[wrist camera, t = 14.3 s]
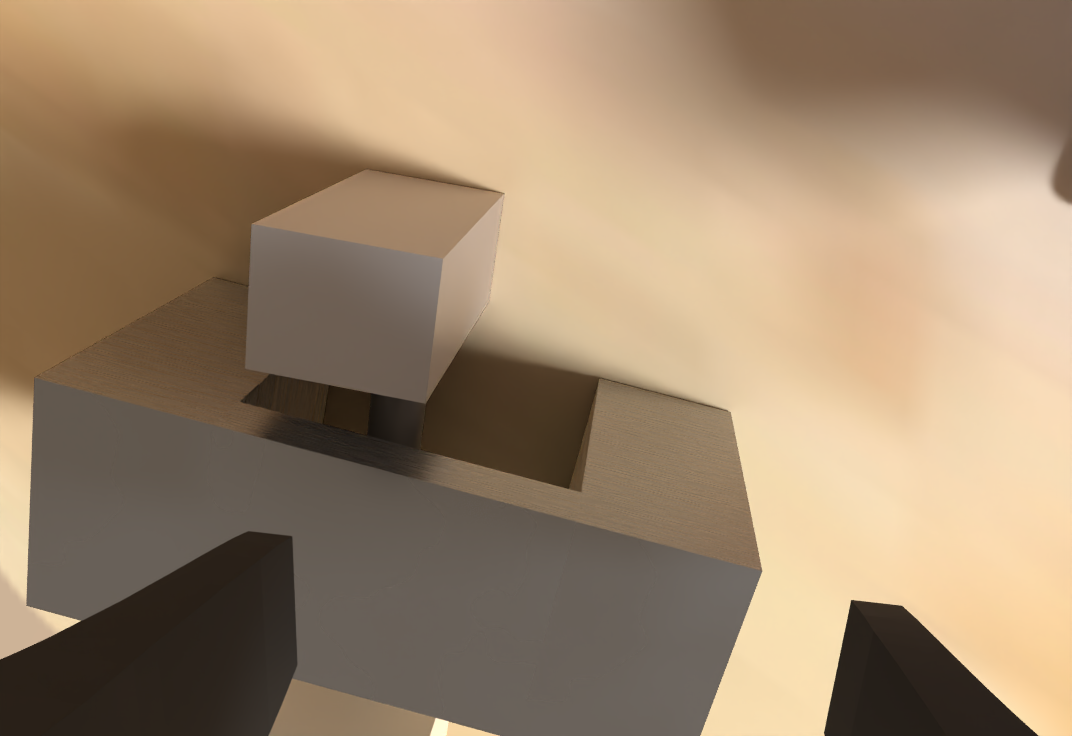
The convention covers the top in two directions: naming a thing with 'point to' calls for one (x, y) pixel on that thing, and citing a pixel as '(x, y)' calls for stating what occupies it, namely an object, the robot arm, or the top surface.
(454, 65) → the top surface
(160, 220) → the top surface
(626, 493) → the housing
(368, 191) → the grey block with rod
